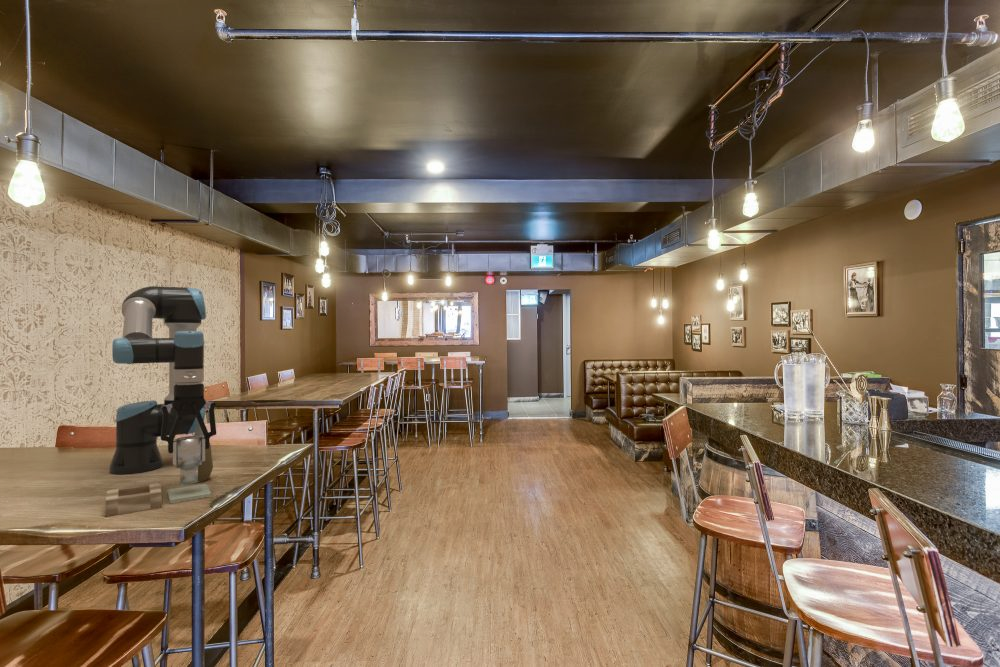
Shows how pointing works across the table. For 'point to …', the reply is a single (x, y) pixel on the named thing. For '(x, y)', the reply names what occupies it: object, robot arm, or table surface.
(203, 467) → the squeeze bottle
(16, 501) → the table surface
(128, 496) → the bore block
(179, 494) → the mat
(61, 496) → the table surface
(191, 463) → the metal cylinder
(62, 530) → the table surface
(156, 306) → the robot arm
